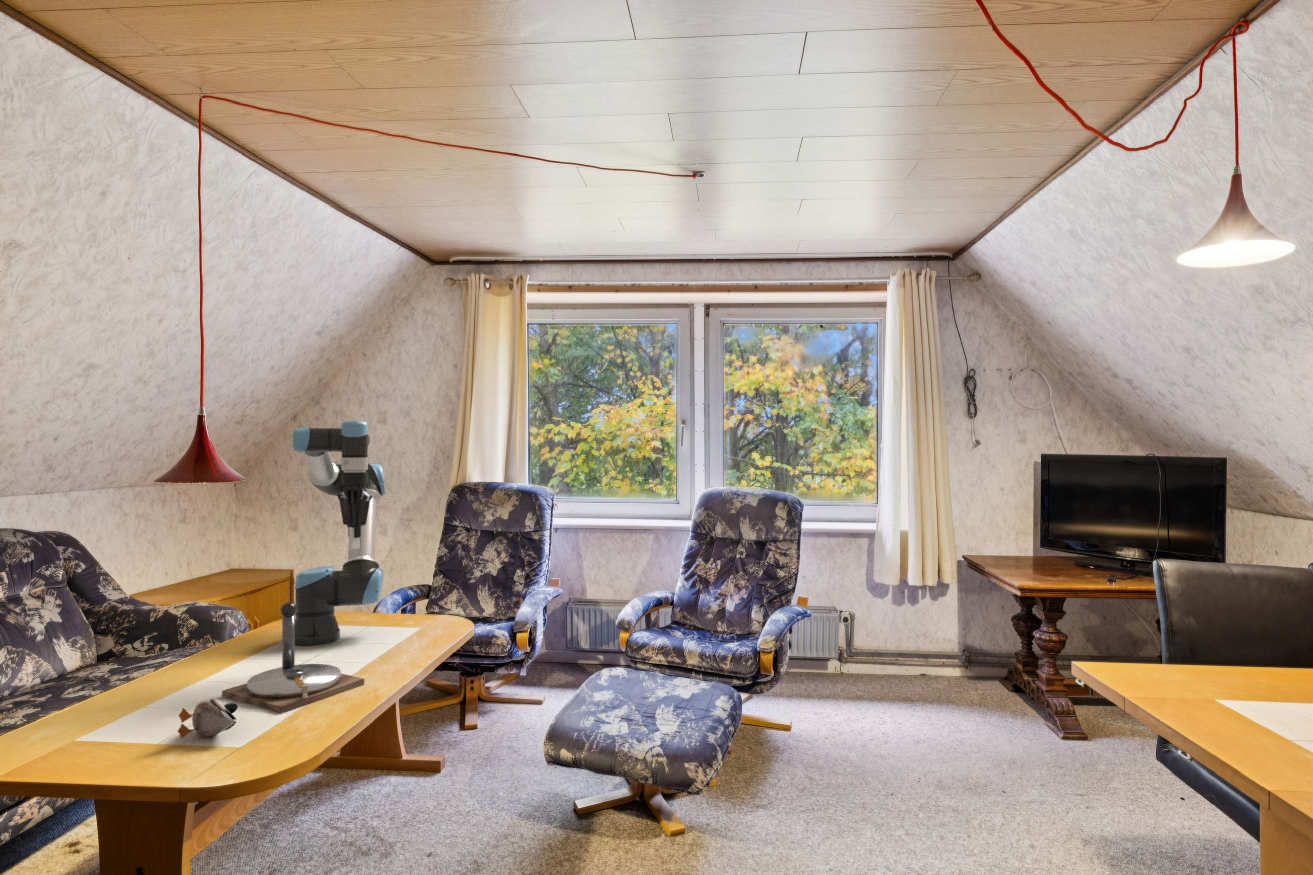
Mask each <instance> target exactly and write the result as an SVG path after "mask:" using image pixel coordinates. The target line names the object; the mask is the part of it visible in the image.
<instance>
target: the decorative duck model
mask: <svg viewBox="0 0 1313 875" xmlns="http://www.w3.org/2000/svg"><path fill="white" fill-rule="evenodd" d="M238 708H239V705H238V704H237V703H236V702H235V703H234V702H228V703H226V704H224V703H223V702H222V701H221V700H219V699H213V698H211V699H205V700H202V701H200V702H199V703H198V704H197V705H196V706H195V708H194V709H193V712H192V713H191V714H190V713H189V711H188V710H187V709H186V708H184V707H182V708H181V709H182V710H181V712H179V714H178V717H179V719H180V720H181V721H180V722H181V725H180V726H179V728H178V729H177V733H179V736H180V740H182V739H183V738H185V737H186V736H187V735H188V734H190V733H191V732H194V731H195V732H197V734H199V735H200V736H203V737H209V738H210V737H213V736H216V735H218V734H219V733H222V732H224V731H227V730H229V729H231V728H232V727H234V726H235V725H236V723H237V721H235V720H237V718H236V717H235V715H234V713H235V712H236V711H237V710H238ZM191 717H192V718H191ZM190 718H191V720H192V727H193V728H194V729H190V728H188V726H185V724H183V723H184V722H185V721H187V720H189V719H190Z"/></svg>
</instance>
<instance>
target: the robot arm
mask: <svg viewBox="0 0 1313 875" xmlns="http://www.w3.org/2000/svg"><path fill="white" fill-rule="evenodd" d="M370 439H371V438H370V435H369V428H368V422H366V421H359V420H358V421H357V420H355V421H354V420H352V421H351V420H350V421H346V420H345V421H343V422H342V423H341V427H336V428H335V427H297V428H294V430H293V434H292V448H293V451H294V452H296V453H303V454H304V456H305V459H306V462H307V466H308V468H309V469H308V478H309V481H310V483H311V484H312V485H313V487H315V488H316V489H317V490H318V491H321V492H323V493H325V494H327V495H330V496H333V497H334V496H335V497H337V499H338V501H339V506H340V512H341V519H342V524H343V525H345V526H346V527H347V528H348V531H347V532H348V534H347V535H348V546H347V547H348V548H347V549H348V550H347V561H346V562H344V563H343V565H342V570H341V569H340V570H336V568H335V566H332V565H329V566H328V565H326V566H325V565H324V566H318V567H313V568H310V569H306V570H303V571H300V572H299V573H298V574H297V575H296V578H295V586H294V590H295V605H296V607H297V611H296V613H295V614H294V615H295V646H315V645H323V644H327V643H332V642H335V641H337V640H338V639H340V638H341V630H340V627H339V623H338V621H337V618H336V616H335V607H343V606H345V607H347V606H361V605H362V606H366V605H371V604H376V603H378V602H379V600H380V598H381V594H382V591H383V590H382V589H383V585H384V584H383V583H384V582H383V581H384V569H383V568H381V567H380V564H379V562H378V561H376V560H375V559H376V556H375V555H376V529H377V528H376V526H377V525H376V524H377V522H376V521H377V503H379V502H380V501H381V499H382V497H383V496H385V495H386V486H385V478H384V470H383V469H384V468H383V467H382V465H380V464H377V463H369V456H368V452H369V451H368V450H369V448H368V447H369V445H370V442H371V440H370ZM332 452H333V453H335V452H339V453H340V452H341V463H340V464H339V463H337V464H335V463H333V459H332V455H331V453H332Z"/></svg>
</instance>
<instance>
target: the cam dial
mask: <svg viewBox="0 0 1313 875" xmlns="http://www.w3.org/2000/svg"><path fill="white" fill-rule="evenodd" d="M296 611H297V607H296V603H294V602H289V601H288V602H285V603H283V604H282V605H281V606H280V615H281V616H282V621H281V622H282V623H281V624H282V625H281V626H282V629H281V630H282V639H281V640H282V644H281V646H282V647H281V648H282V652H281V653H282V656H281V657H282V658H281V659H282V661H281V662H282V663H281V664H282V665H281V667H275V668H273V669H268V670H265V671H262V672H260V673H259V672H258V673H257V674H254V675H253V676H252V677H249V679H248V680H247V681H246V683H247V692H248V693H249V694H251V695H253V696H257V697H264V698H285V697H294V696H301V695H302V685H307V686H308V694H311V693H315V692H318V691H322V690H325V689H327V688H330V687H332V686H334V685H335V684H337V683H338V682H339V681H340V679H341V674H342V673H341V669H340V668H339V667H337V666H335V665H331V664H325V663H303V664H295V661H296V659H295V656H296V655H295V650H296V649H295V647H296V645H295V616H296V615H295V613H296Z"/></svg>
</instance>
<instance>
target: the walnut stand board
mask: <svg viewBox="0 0 1313 875" xmlns="http://www.w3.org/2000/svg"><path fill="white" fill-rule="evenodd" d="M363 685H365V678H363V677H357V676H354V675H349V674H346V673H345V674H344V673H341V679H340V681H339V682H338V683H337V684H335V685H334V686H332V687H330V688H327V689H325V690H322V691H318V692H315V693H311V694H308V686H307V685H302V695H301V696H294V697H285V698H264V697H257V696H253V695H251V694H249V693H248V692H247V682H246V683H243V684H239V685H237V686H233V687H229V688H227V689H224V690H222V691H221V697H222V696H223V697H222V698H226V697H227V698H226V699H229V698H231V699H230V700H233V699H234V700H233V701H236V700H237V702H241V703H244V704H248V705H252V706H255V707H259V708H262V709H265V710H269V711H271V712H272V711H273V712H277V713H281V714H283V712H284V713H286V712H289V711H292V710H295V709H298V708H300V706H301V707H303V706H306V705H309V704H312V703H314V702H317V701H321V700H323V699H325V698H330V697H332V696H334V695H337V694H341V693H344V692H346V691H350V690H352V689H355V688H357V687H360V686H363ZM297 707H298V708H297Z"/></svg>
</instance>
